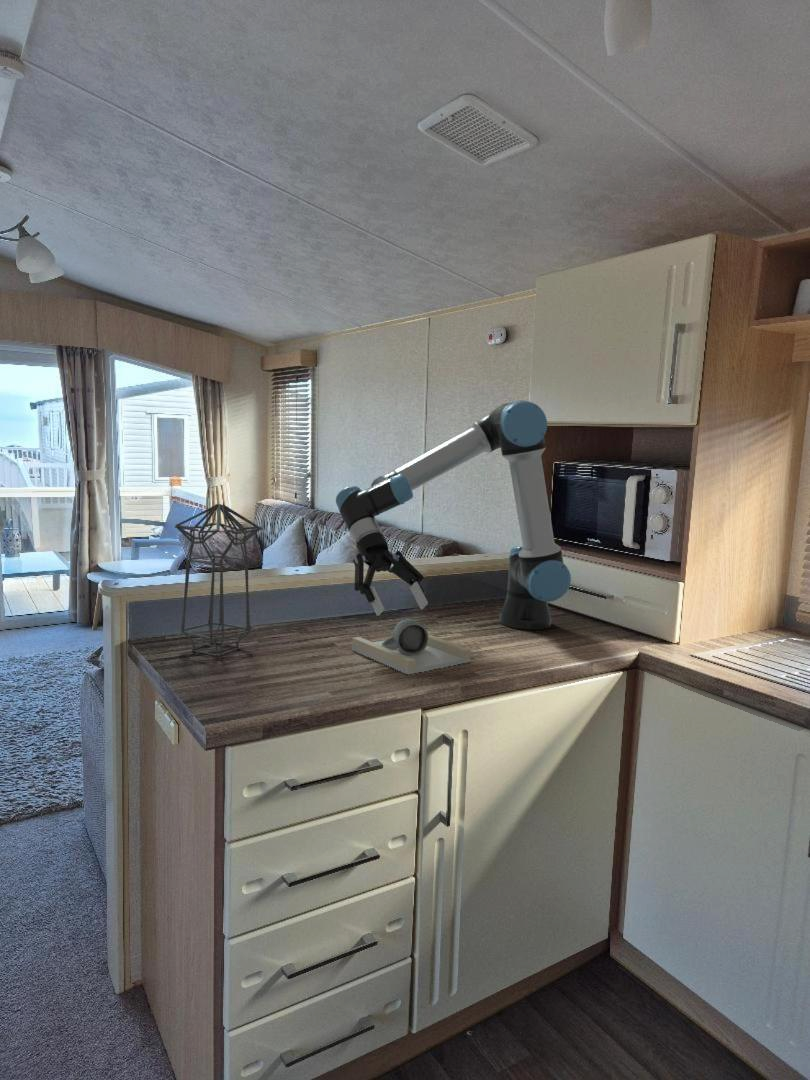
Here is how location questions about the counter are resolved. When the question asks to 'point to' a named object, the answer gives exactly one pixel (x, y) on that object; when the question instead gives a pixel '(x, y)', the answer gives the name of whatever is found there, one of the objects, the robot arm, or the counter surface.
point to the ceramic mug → (408, 637)
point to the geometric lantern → (227, 532)
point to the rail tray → (430, 658)
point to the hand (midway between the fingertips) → (403, 609)
